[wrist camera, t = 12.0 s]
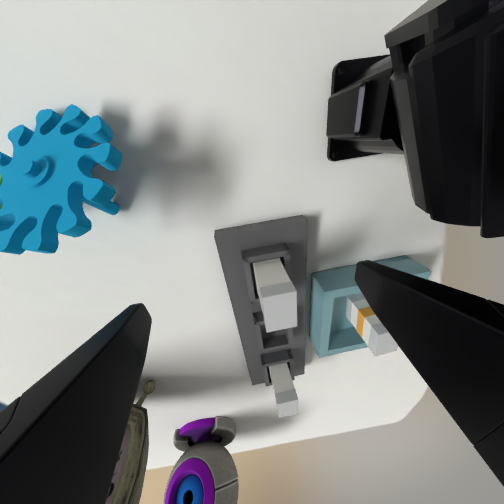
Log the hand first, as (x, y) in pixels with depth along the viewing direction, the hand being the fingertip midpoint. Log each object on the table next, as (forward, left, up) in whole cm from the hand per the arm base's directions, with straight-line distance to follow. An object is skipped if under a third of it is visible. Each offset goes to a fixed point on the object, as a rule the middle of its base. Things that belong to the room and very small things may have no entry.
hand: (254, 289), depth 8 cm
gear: (+12, -5, -12) cm, 18 cm away
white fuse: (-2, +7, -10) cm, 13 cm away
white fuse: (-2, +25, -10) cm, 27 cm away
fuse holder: (-2, +16, -12) cm, 20 cm away
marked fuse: (-14, +16, -11) cm, 24 cm away
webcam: (+15, +48, -12) cm, 52 cm away
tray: (-14, +16, -12) cm, 24 cm away
